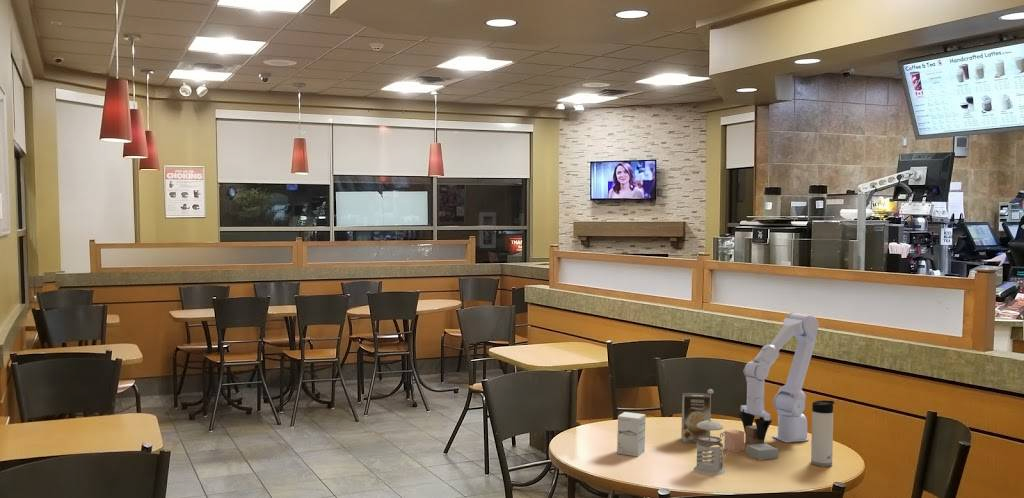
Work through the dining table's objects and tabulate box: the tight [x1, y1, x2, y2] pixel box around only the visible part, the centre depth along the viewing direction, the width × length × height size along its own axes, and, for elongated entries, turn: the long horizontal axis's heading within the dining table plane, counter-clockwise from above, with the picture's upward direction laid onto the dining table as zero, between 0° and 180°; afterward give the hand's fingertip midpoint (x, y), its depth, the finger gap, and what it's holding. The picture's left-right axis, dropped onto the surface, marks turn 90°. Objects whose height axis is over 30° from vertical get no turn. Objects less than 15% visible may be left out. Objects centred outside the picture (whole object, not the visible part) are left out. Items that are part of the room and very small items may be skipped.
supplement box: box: [616, 411, 647, 458], centre depth 278 cm, size 7×7×13 cm
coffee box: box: [680, 392, 711, 444], centre depth 293 cm, size 9×6×16 cm
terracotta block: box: [723, 428, 745, 452], centre depth 283 cm, size 4×4×6 cm
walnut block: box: [744, 424, 765, 445], centre depth 289 cm, size 4×4×6 cm
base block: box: [746, 442, 779, 461], centre depth 275 cm, size 7×7×3 cm
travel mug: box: [810, 400, 835, 467], centre depth 266 cm, size 6×7×20 cm
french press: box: [692, 388, 732, 476], centre depth 258 cm, size 10×12×25 cm
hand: (754, 436), depth 289 cm, fingers open, 7 cm apart
